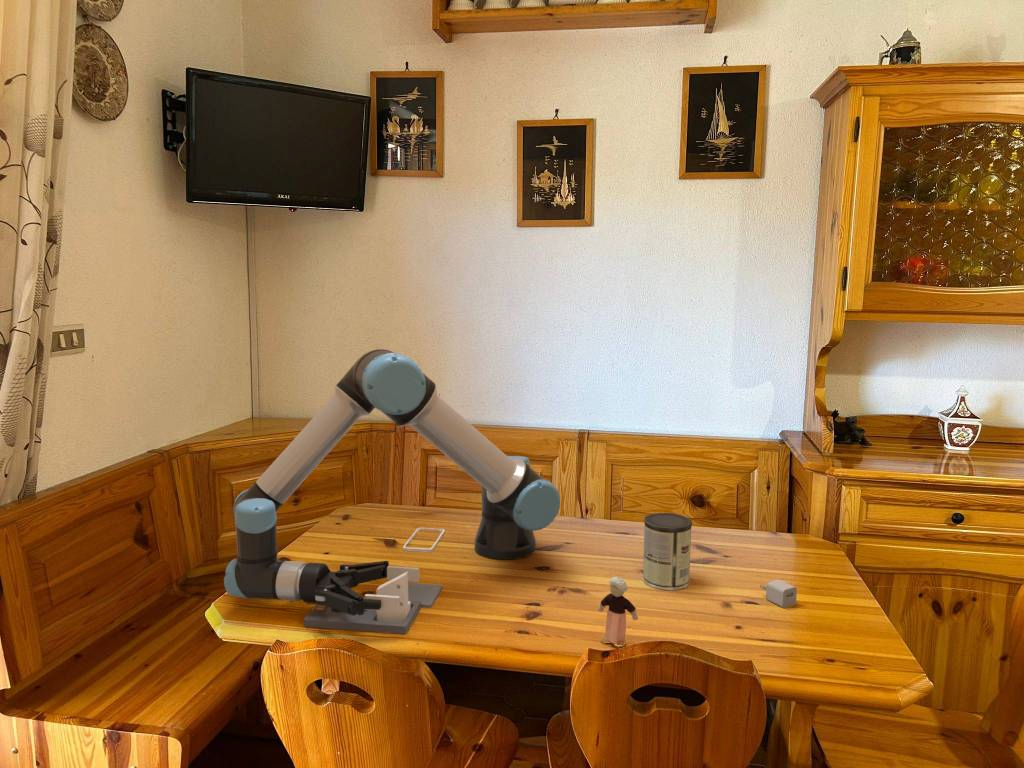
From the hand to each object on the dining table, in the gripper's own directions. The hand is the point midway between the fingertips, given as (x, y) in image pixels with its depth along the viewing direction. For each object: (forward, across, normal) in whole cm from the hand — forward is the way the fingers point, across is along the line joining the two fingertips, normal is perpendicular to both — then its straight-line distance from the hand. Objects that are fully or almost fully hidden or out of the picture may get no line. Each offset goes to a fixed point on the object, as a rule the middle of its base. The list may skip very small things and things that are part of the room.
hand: (409, 588), depth 140 cm
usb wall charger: (+73, -21, -7) cm, 76 cm away
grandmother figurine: (+40, +3, -7) cm, 40 cm away
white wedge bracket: (-3, 0, -7) cm, 8 cm away
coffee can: (+51, -27, -7) cm, 58 cm away
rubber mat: (-3, -11, -6) cm, 13 cm away
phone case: (-8, -43, -7) cm, 44 cm away
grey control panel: (-9, 0, -6) cm, 11 cm away
